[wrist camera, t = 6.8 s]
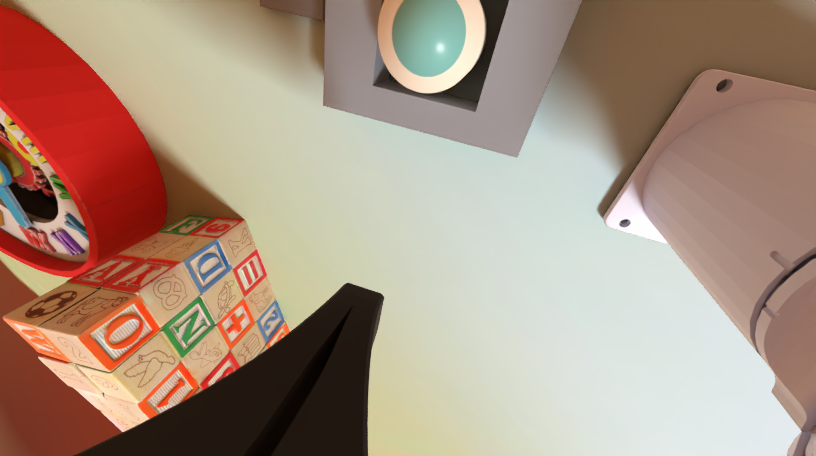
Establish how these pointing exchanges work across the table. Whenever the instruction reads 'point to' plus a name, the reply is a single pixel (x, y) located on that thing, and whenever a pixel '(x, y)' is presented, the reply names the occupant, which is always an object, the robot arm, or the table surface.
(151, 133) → the table surface
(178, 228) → the stack of blocks
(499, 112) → the button board
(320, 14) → the pattern tile
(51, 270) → the toy clock
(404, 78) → the button
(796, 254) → the robot arm
